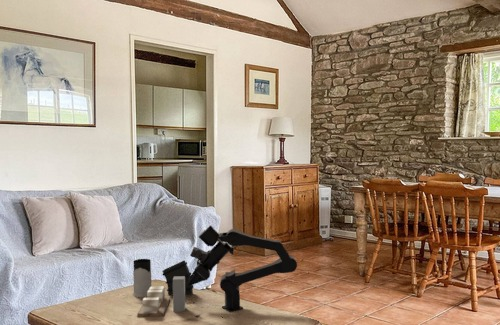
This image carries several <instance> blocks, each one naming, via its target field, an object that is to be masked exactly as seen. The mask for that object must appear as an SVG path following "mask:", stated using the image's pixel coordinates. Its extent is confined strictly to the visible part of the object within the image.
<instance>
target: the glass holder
mask: <svg viewBox="0 0 500 325" xmlns="http://www.w3.org/2000/svg"><path fill="white" fill-rule="evenodd" d="M151 264H152V263H151V259H150V258H138V259H135V260H133V272H132V273H133V275H132V276H133V292H132V295H133V297H138V298H146V297H147V292H148V290H149V288H150V287H151V286H152V266H151Z"/></svg>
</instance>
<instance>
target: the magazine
mask: <svg viewBox="0 0 500 325" xmlns="http://www.w3.org/2000/svg"><path fill="white" fill-rule="evenodd" d="M161 272H162V276H163V277H164V278H165V280H166V281H165V284H166V285H167V289H166V291H167V294H168V295H169V296H170V295H172V296H173V278H174V277H175V276H185V296H192V295H193V294H194V292H193V291H194V290H193V289H194V285H191V286H189V285H188V283H189V281H190V280H191V279H190V276H191V275H192V272H190V269H189V267H188V261H186V260H182V261H180V262H178V263H175V264H173V265H171V266H169V267H167V268H165V269H163V270H162V271H161Z"/></svg>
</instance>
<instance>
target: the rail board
mask: <svg viewBox="0 0 500 325" xmlns="http://www.w3.org/2000/svg"><path fill="white" fill-rule="evenodd" d="M165 289H166V288H165V286H163V285H161V286H160V285H157V286H153V285H151V287H150V288H149V290H148V292H147V296H146V297H142V303H141V304H142V305H141V306H140V308H139V310H138V311H137V315H136V316H137V318H138V317H139V318H140V317H164V315H165V312H166V310H167V308H168V305H169V303H170V301H171V296H166V290H165Z"/></svg>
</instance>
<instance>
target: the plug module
mask: <svg viewBox="0 0 500 325" xmlns="http://www.w3.org/2000/svg"><path fill="white" fill-rule="evenodd" d="M172 305H173V306H172V310H173V312H177V313H178V312H185V311H186V295H185V276H175V277H174V278H173V295H172Z"/></svg>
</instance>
